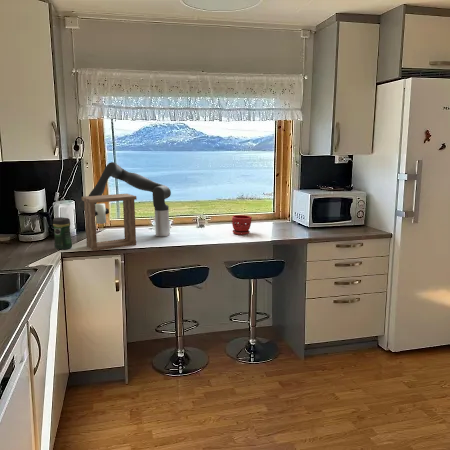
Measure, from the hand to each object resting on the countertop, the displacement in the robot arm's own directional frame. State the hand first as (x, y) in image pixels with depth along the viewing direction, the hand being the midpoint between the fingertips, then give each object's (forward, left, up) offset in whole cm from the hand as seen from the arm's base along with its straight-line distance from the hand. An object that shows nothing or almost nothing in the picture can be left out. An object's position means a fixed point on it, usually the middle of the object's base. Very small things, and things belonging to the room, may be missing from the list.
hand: (101, 213), depth 272 cm
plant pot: (-58, +70, -18) cm, 93 cm away
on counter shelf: (+8, +13, -18) cm, 24 cm away
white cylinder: (-1, -2, -7) cm, 7 cm away
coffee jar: (+26, -8, -18) cm, 32 cm away
